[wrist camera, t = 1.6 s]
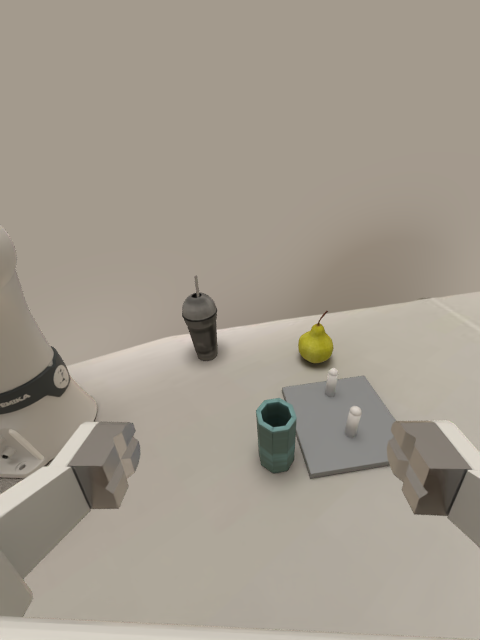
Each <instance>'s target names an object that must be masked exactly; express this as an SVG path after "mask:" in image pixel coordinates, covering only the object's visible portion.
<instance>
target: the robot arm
mask: <svg viewBox="0 0 480 640" xmlns="http://www.w3.org/2000/svg"><path fill="white" fill-rule="evenodd" d="M16 262H17V257H16V250H15V246H14V244H13V242H12V239H11V238H10V236H9V235H8V233H7V232H6V231H5V229H4V228H3V227H2V226H1V225H0V477H6V478H25V479H23V480H22V481H20V482H19V483H17V484H16V485H14V486H13V487H11V488H10V489H8V490H6V491H5V492H3V493H2V494H0V640H480V639H462V638H442V637H422V636H402V635H381V634H361V633H341V632H321V631H300V630H280V629H259V628H239V627H218V626H198V625H178V624H157V623H137V622H116V621H96V620H75V619H55V618H35V617H23V616H24V614H25V612H26V610H27V609H28V607H29V605H30V603H31V601H32V599H33V594H32V591H31V590H30V588H29V587H28V586H27V584H26V583H25V582H24V580H23V579H24V578H25V577H26V576H27V575H28V574H29V573H30V572H31V571H32V570H33V569H34V567H35V566H36V565H37V564H38V563H39V562H40V561H41V560H42V559H43V558H44V557H45V556H46V555H47V554H48V553H49V552H50V551H51V550H52V549H53V548H54V547H55V546H56V545H57V544H58V543H59V542H60V541H61V540H62V539H63V538H64V537H65V536H66V535H67V534H68V533H69V532H70V531H71V530H72V529H73V528H74V527H75V526H76V525H77V524H78V523H79V522H80V521H81V520H82V519H83V518H84V517H85V516H86V515H87V514H88V513H89V512H90V511H91V510H90V509H119V507H120V505H121V503H122V500H123V498H124V496H125V494H126V491H127V489H128V487H129V486H128V482H127V479H128V478H129V477H130V476H131V475H132V474H134V473H135V471H136V468H137V466H138V463H139V458H140V445H139V441H138V440H137V439H135V438H134V437H133V435H134V433H135V428H134V425H133V423H130V422H94V419H95V417H96V413H97V404H96V402H95V400H94V399H93V398H92V397H91V396H90V395H88V394H87V393H86V392H85V391H84V390H83V389H82V388H81V387H80V386H79V385H78V384H77V383H76V382H75V381H74V380H73V378H72V377H71V376H70V375H69V372H68V370H67V367H66V365H65V363H64V362H63V360H62V358H61V357H60V355H59V354H58V352H57V351H56V349H55V348H54V347H52V346H50V345H49V343H48V341H47V340H46V338H45V336H44V335H43V333H42V331H41V330H40V328H39V326H38V324H37V323H36V321H35V319H34V318H33V316H32V314H31V312H30V310H29V308H28V305H27V303H26V300H25V297H24V294H23V291H22V287H21V284H20V281H19V278H18V275H17V272H16V269H15V268H16ZM391 432H392V434H393V436H394V437H393V438H392V439H390V440H389V441H388V445H387V457H388V462H389V465H390V467H391V470H392V472H393V474H394V475H395V476H396V477H397V478H398V479H400V480H401V481H402V482H403V487H402V492H403V494H404V496H405V498H406V499H407V501H408V503H409V505H410V507H411V509H412V511H413V513H414V514H417V515H437V516H448V517H447V518H448V519H449V520H450V521H451V522H452V523H454V524H455V525H456V526H457V527H458V528H459V529H460V530H461V531H462V532H463V533H464V534H465V535H467V536H468V537H469V538H470V539H471V540H472V541H473V542H474V543H475V544H476V545H477V546H478V547H479V548H480V452H479V451H478V450H477V449H476V448H475V446H474V445H473V444H472V443H471V442H470V441H469V440H468V439H467V438H466V436H465V435H464V434H463V433H462V432H461V431H460V430H459V429H458V427H457V426H456V425H455V424H454V423H452V422H451V421H449V420H435V421H395V422H394V423H393V424H392V427H391ZM53 458H54V460H53V461H52V462H51V464H50V465H49V466H45V465H46V464H47V463H48V462H49V461H50V460H52V459H53ZM44 466H45V467H44ZM23 468H24V469H23Z"/></svg>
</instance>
